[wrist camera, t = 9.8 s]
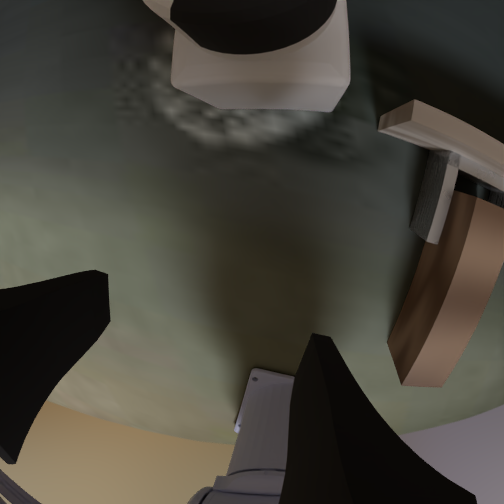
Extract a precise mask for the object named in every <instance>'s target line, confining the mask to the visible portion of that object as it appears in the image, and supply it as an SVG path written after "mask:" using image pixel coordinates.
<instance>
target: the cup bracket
mask: <svg viewBox="0 0 504 504" xmlns="http://www.w3.org/2000/svg"><path fill="white" fill-rule="evenodd" d="M457 175H459V176H461V177H464V178H466V179H468V180H470V181H472V182H474V183H476V184H478V185H480V186H482V187H484V188H486V189H488V190H490V195H489V199H488V202H490V203H492V204H494V205H496V206H499V207H501V208H503V209H504V178H503V177H502V176H500V175H498V174H496V173H495V172H493V171H491V170H489V169H487V168H485V167H483V166H482V165H480V164H478V163H476V162H474V161H472V160H470V159H468V158H466V157H464V156H462V155H460V154H457V153H455V152H453V151H451V150H429V155H428V159H427V164H426V168H425V173H424V177H423V181H422V185H421V189H420V193H419V197H418V200H417V204H416V208H415V211H414V215H413V218H412V221H411V225H410V229H411V230H412V231H414V232H415V233H416V234H418V235H419V236H420V237H421V238H423V239H424V240H425V241H427V242H430V243H433V244H436V245H438V242H439V239H440V236H441V233H442V229H443V226H444V223H445V220H446V216H447V213H448V209H449V206H450V202H451V198H452V195H453V191H454V187H455V183H456V178H457ZM503 262H504V261H503Z"/></svg>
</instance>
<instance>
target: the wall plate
mask: <svg viewBox="0 0 504 504" xmlns="http://www.w3.org/2000/svg"><path fill="white" fill-rule="evenodd" d="M378 131H379V132H382V133H385V134H388V135H391V136H394V137H396V138H399V139H402V140H405V141H407V142H410V143H413V144H415V145H418V146H420V147H423V148H426V149H428V150H451V151H453V152H455V153H457V154H460V155H462V156H464V157H466V158H468V159H470V160H472V161H474V162H476V163H478V164H480V165H482V166H483V167H485V168H487V169H489V170H491V171H493V172H495V173H496V174H498V175H500V176H502V177H503V178H504V144H502V143H501V142H499V141H498V140H496V139H494V138H493V137H491V136H489V135H487V134H486V133H484V132H482V131H480V130H479V129H477V128H475V127H473V126H471V125H469V124H467V123H465V122H464V121H462V120H460V119H458V118H456V117H454V116H452V115H449V114H447V113H445V112H443V111H441V110H439V109H437V108H434V107H432V106H430V105H427V104H425V103H423V102H420V101H418V100H415V99H414V100H412V101H410V102H408V103H406V104H404V105H402V106H400V107H398V108H396V109H394V110H392V111H390V112H388V113H386V114H384V115H382V116H380V121H379V126H378Z"/></svg>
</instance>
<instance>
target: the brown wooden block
mask: <svg viewBox="0 0 504 504" xmlns="http://www.w3.org/2000/svg"><path fill="white" fill-rule="evenodd" d="M503 261H504V209H503V208H501V207H499V206H496V205H494V204H492V203H490V202H487V201H485V200H482V199H480V198H477V197H475V196H471V195H468V194H465V193H462V192H458V191H455V190H454V191H453V195H452V198H451V202H450V206H449V209H448V213H447V216H446V220H445V223H444V226H443V229H442V233H441V236H440V239H439V242H438V245H436V244H433V243H430V242H427V241H425V244H424V247H423V251H422V254H421V257H420V260H419V263H418V266H417V269H416V272H415V275H414V278H413V281H412V283H411V286H410V289H409V291H408V294H407V297H406V299H405V302H404V304H403V307H402V309H401V312H400V314H399V317H398V319H397V321H396V324H395V326H394V328H393V331H392V333H391V335H390V337H389V340H388V342H387V344H388V347H389V350H390V353H391V355H392V358H393V361H394V364H395V367H396V370H397V373H398V376H399V379H400V383H401V385H403V386H419V387H442V386H443V384H444V383H445V381H446V380H447V378H448V377H449V375H450V373H451V372H452V370H453V368H454V367H455V365H456V363H457V362H458V360H459V358H460V356H461V355H462V353H463V351H464V349H465V348H466V346H467V344H468V342H469V340H470V338H471V336H472V334H473V332H474V330H475V328H476V326H477V324H478V322H479V320H480V318H481V316H482V314H483V311H484V309H485V307H486V305H487V302H488V300H489V298H490V295H491V293H492V290H493V288H494V285H495V283H496V280H497V278H498V275H499V272H500V269H501V267H502V264H503Z"/></svg>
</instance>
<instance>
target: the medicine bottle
mask: <svg viewBox="0 0 504 504" xmlns="http://www.w3.org/2000/svg"><path fill="white" fill-rule="evenodd" d="M143 1H144V3H145V4H146V5H147V6H148V7H149V8H150V9H151V10H152V11H153V12H155V13H156V14H157V15H159V16H160V17H161V18H162V19H164V20H165V21H166V22H167V23H169V24H170V25H171V26H172V27H174V28H175V35H174V45H173V56H172V68H171V84H172V85H173V86H174V87H175V88H176V89H179V90H181V91H183V92H185V93H187V94H189V95H192V96H194V97H196V98H198V99H200V100H202V101H204V102H206V103H208V104H210V105H212V106H214V107H216V108H218V109H286V110H305V111H319V112H331V111H333V110H334V108H335V106H336V105H337V103H338V102H339V100H340V98H341V97H342V95H343V94H344V92H345V90H346V89H347V87H348V86H349V83H350V49H349V30H348V16H347V4H346V0H143Z"/></svg>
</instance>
